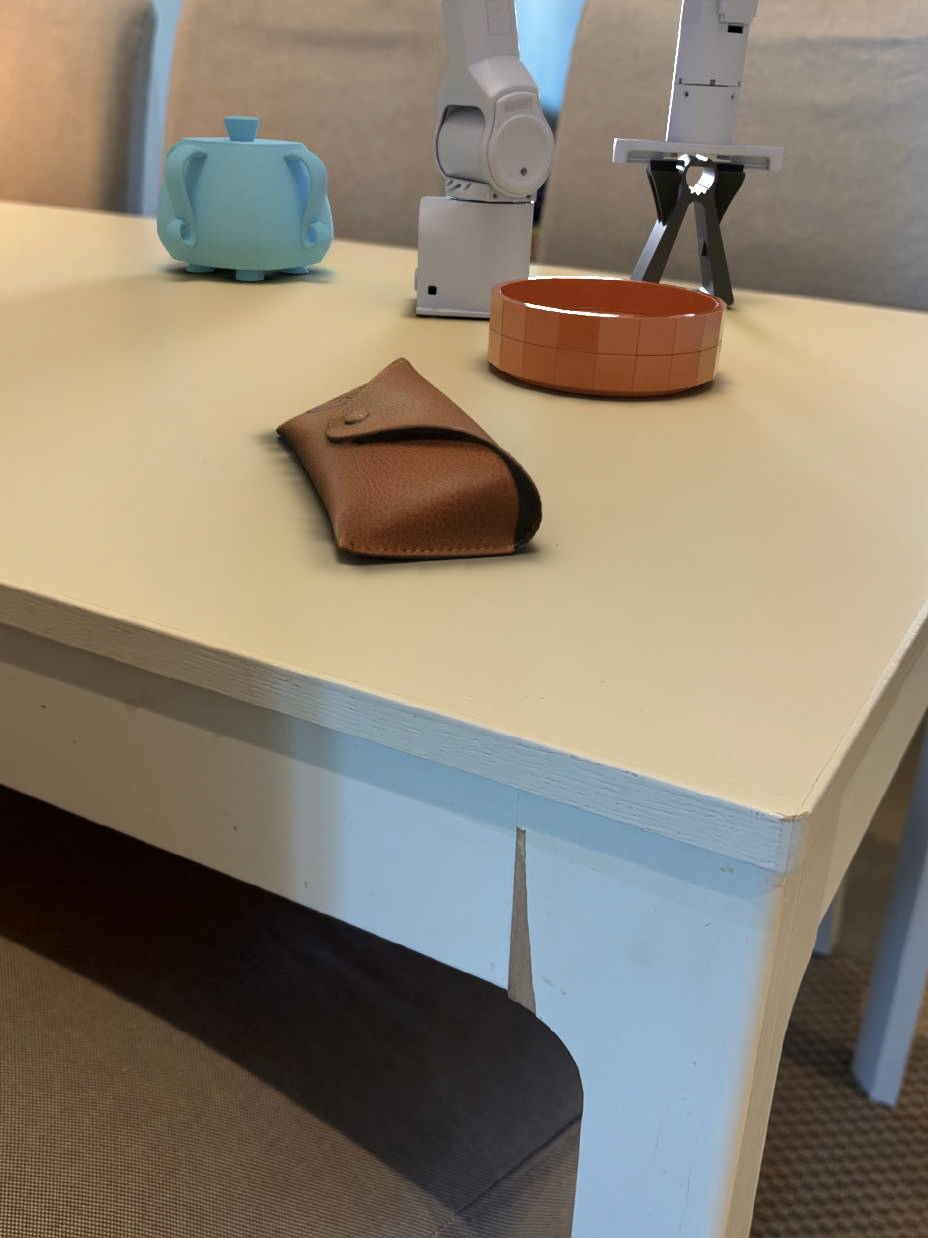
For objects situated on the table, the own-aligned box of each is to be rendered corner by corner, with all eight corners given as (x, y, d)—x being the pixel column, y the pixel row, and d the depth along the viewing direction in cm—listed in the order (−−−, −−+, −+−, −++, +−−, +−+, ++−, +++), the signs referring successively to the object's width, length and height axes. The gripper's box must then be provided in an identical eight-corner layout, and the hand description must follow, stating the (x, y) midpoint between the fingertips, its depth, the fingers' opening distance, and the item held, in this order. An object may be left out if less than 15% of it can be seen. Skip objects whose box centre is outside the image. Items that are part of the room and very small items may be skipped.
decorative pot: (334, 262, 111) (333, 118, 105) (332, 287, 97) (330, 122, 91) (174, 257, 109) (164, 110, 104) (148, 281, 95) (134, 113, 89)
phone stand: (721, 294, 101) (742, 156, 96) (733, 305, 96) (755, 160, 90) (626, 289, 101) (641, 151, 96) (633, 300, 96) (649, 154, 90)
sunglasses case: (263, 423, 55) (326, 309, 54) (375, 481, 59) (438, 376, 57) (338, 557, 40) (429, 403, 39) (484, 625, 44) (572, 487, 42)
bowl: (486, 394, 65) (491, 310, 63) (487, 342, 79) (491, 271, 76) (735, 406, 65) (748, 323, 63) (693, 352, 78) (703, 282, 76)
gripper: (780, 90, 94) (754, 251, 100) (616, 82, 94) (600, 243, 100) (800, 90, 88) (772, 262, 94) (625, 81, 88) (607, 253, 94)
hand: (684, 253), depth 97 cm, fingers closed on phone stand, 3 cm apart
